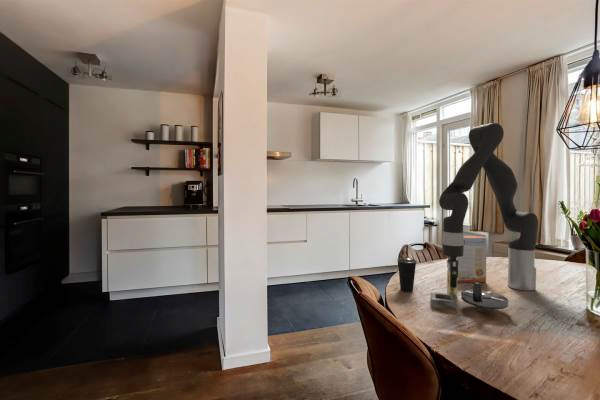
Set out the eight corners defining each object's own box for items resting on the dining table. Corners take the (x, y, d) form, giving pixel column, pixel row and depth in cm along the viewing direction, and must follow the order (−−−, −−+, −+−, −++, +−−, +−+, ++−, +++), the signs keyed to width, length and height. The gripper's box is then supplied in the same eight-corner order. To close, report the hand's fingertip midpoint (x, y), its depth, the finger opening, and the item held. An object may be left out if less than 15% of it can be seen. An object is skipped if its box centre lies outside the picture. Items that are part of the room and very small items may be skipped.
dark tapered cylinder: (407, 296, 120) (407, 247, 119) (393, 291, 127) (393, 244, 126) (420, 293, 124) (420, 245, 123) (406, 288, 130) (406, 242, 130)
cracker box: (479, 278, 143) (480, 235, 142) (486, 282, 137) (487, 237, 136) (449, 278, 144) (450, 235, 143) (454, 282, 138) (455, 237, 137)
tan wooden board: (499, 307, 109) (499, 297, 108) (510, 325, 95) (510, 313, 95) (430, 299, 117) (430, 289, 117) (431, 314, 103) (431, 303, 103)
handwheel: (470, 291, 114) (471, 271, 114) (514, 301, 103) (514, 280, 103) (454, 300, 105) (454, 279, 105) (499, 313, 94) (500, 289, 94)
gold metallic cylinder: (456, 297, 119) (456, 270, 119) (457, 300, 116) (458, 272, 115) (446, 296, 120) (446, 269, 120) (447, 299, 117) (447, 271, 117)
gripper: (466, 247, 109) (465, 290, 110) (461, 240, 122) (460, 279, 123) (443, 245, 112) (442, 288, 113) (441, 239, 125) (440, 277, 126)
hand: (452, 283), depth 118 cm, fingers open, 8 cm apart
